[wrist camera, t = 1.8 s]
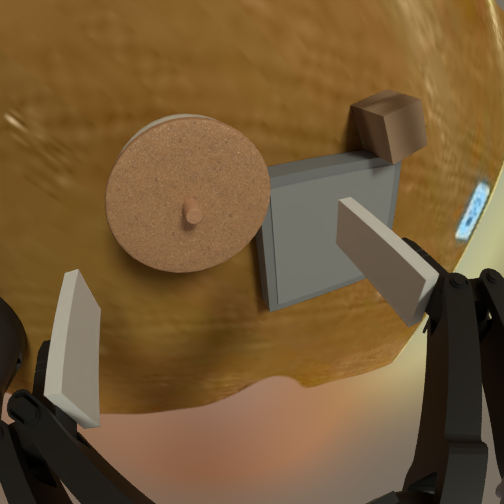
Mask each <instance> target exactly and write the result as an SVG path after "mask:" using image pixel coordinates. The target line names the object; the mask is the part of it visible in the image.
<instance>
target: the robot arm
mask: <svg viewBox="0 0 504 504" xmlns="http://www.w3.org/2000/svg"><path fill="white" fill-rule="evenodd" d="M336 244H337V245H338V246H339V247H340V249H341V250H342V251H343V252H344V253H345V254H346V255H347V256H348V257H349V258H350V260H351V261H352V262H353V263H354V264H355V265H356V266H357V267H358V269H359V270H360V271H361V272H362V273H363V274H364V275H365V276H366V278H367V279H368V280H369V281H370V282H371V283H372V285H373V286H374V287H375V288H376V289H377V290H378V291H379V293H380V294H381V295H382V296H383V297H384V298H385V300H386V301H387V302H388V303H389V304H390V306H391V307H392V308H393V309H394V310H395V312H396V313H397V314H398V315H399V316H400V318H401V319H402V320H403V321H404V322H405V324H406V325H407V326H408V327H410V326H412V325H414V324H416V323H418V322H420V321H421V320H422V318H423V315H424V313H425V312H426V313H427V314H428V315H429V318H428V320H427V323H426V325H425V327H424V329H423V333H425V332H426V330H427V356H426V372H425V385H424V395H423V404H422V412H421V420H420V427H419V433H418V439H417V445H416V450H415V456H414V460H413V463H412V465H411V467H410V469H409V471H408V473H407V475H406V478H405V482H404V486H403V489H402V491H400V492H394V491H392V492H390V493H388V494H386V495H383V496H381V497H379V498H377V499H374V500H372V501H370V502H368V503H366V504H481V502H482V497H483V491H484V485H485V478H486V470H487V461H488V447H487V445H486V444H485V443H484V442H482V440H481V422H482V385H483V389H484V393H485V397H486V402H487V407H488V411H489V416H490V422H491V427H492V434H493V440H494V447H495V454H496V459H497V465H498V469H499V472H500V476H501V478H502V481H501V483H500V484H499V485H498V486H497V488H496V495H497V497H499V498H501V501H500V504H504V278H503V277H502V276H501V275H500V273H498V272H497V271H496V270H493V269H489V268H487V269H484V270H483V271H482V272H481V274H480V277H479V278H475V279H467V278H466V277H465V276H463V275H462V274H459V273H448V272H447V271H446V270H445V269H444V268H443V267H442V266H441V265H440V264H439V263H437V262H436V261H435V260H434V259H433V258H432V257H431V256H430V255H428V253H426V252H425V251H424V250H422V248H421V247H420V246H419V245H417V244H416V243H415V242H413V241H411V240H409V239H407V238H402V239H401V238H400V237H398V236H397V235H396V234H395V233H394V232H393V231H392V230H390V229H389V228H388V227H387V226H386V225H385V224H383V223H382V222H381V221H380V220H379V219H377V218H376V217H375V216H374V215H373V214H371V213H370V212H369V211H368V210H367V209H365V208H364V207H363V206H362V205H360V204H359V203H358V202H357V201H355V200H354V199H353V198H352V197H348V198H344V199H339V200H338V219H337V235H336ZM489 313H490V314H491V316H492V318H491V319H490V317H489ZM100 315H101V309H100V307H99V306H98V304H97V302H96V300H95V299H94V297H93V295H92V293H91V291H90V290H89V288H88V286H87V284H86V282H85V280H84V278H83V277H82V275H81V273H80V271H79V269H77V270H73V271H70V272H67V273H65V276H64V280H63V284H62V288H61V292H60V296H59V301H58V305H57V310H56V315H55V320H54V325H53V331H52V336H51V340H48V341H44V342H43V344H42V345H41V347H40V349H39V351H38V356H37V364H36V369H35V371H36V372H35V376H34V384H33V393H32V394H31V393H30V392H28V391H27V390H24V389H21V390H17V391H16V392H15V393H13V394H12V396H11V397H10V399H9V401H8V404H7V412H8V415H9V417H11V418H12V419H13V420H15V422H13V423H11V424H9V425H8V424H6V423H5V422H4V421H2V420H1V414H2V404H3V397H4V394H5V392H6V390H7V389H8V387H9V385H10V383H11V382H12V380H13V378H14V376H15V375H16V373H17V371H18V370H19V368H20V366H21V364H22V362H23V358H24V353H25V348H26V336H25V332H24V329H23V327H22V324H21V322H20V321H19V319H18V317H17V316H16V314H15V313H14V312H13V311H12V309H11V308H10V307H9V306H8V305H7V304H6V303H5V302H4V301H3V300H2V299H1V298H0V482H1V485H2V488H3V490H4V493H5V496H6V498H7V501H8V503H9V504H73V503H72V501H71V500H70V498H69V496H68V494H67V493H66V491H65V489H64V487H63V485H62V483H61V481H62V482H63V483H64V484H65V486H66V487H67V488H68V489H69V490H70V492H71V493H72V494H73V495H74V496H75V497H76V499H77V500H78V501H79V502H80V503H81V504H155V503H154V502H153V501H152V500H150V499H149V498H148V497H146V496H145V495H144V494H143V493H142V492H140V491H139V490H138V489H137V488H136V487H134V486H133V485H132V484H131V483H130V482H129V481H128V480H126V479H125V478H124V477H123V476H122V475H121V474H120V473H119V472H118V471H117V470H115V469H114V468H113V467H112V466H111V465H110V464H109V463H108V462H107V461H106V460H105V459H104V458H103V457H102V456H101V455H100V454H99V453H98V452H97V451H96V450H95V449H94V448H93V447H92V446H91V445H90V444H89V443H88V441H87V440H86V439H85V438H84V437H83V436H82V435H81V434H80V433H79V432H77V423H78V424H79V425H80V426H82V427H83V428H84V429H85V428H93V427H100V412H99V333H100ZM59 478H60V479H59ZM60 480H61V481H60Z"/></svg>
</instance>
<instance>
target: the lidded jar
mask: <svg viewBox="0 0 504 504" xmlns="http://www.w3.org/2000/svg"><path fill="white" fill-rule="evenodd" d="M270 192H271V187H270V177H269V173H268V169H267V166H266V164H265V161H264V159H263V157H262V155H261V154H260V152H259V151H258V149H257V148H256V146H255V145H254V144H253V143H252V142H251V141H250V140H249V139H248V138H247V137H246V136H245V135H243V134H242V133H240V132H239V131H238V130H236V129H235V128H233V127H231V126H229V125H227V124H225V123H223V122H220V121H218V120H216V119H213V118H210V117H206V116H203V115H196V114H175V115H171V116H167V117H163V118H160V119H158V120H156V121H153V122H151V123H150V124H148V125H146V126H145V127H143V128H142V129H141V130H140V131H138V132H137V133H136V134H135V135H134V136H133V137H132V138H131V139H130V140H129V141H128V143H127V144H126V145H125V146H124V148H123V149H122V151H121V153H120V154H119V156H118V158H117V160H116V162H115V164H114V165H113V167H112V170H111V173H110V176H109V178H108V182H107V187H106V193H105V211H106V217H107V221H108V224H109V227H110V229H111V232H112V234H113V235H114V237H115V239H116V240H117V242H118V243H119V244H120V246H121V247H122V248H123V249H124V250H125V251H126V252H127V253H128V254H129V255H131V256H132V257H133V258H134V259H136V260H138V261H139V262H141V263H143V264H145V265H147V266H149V267H152V268H154V269H158V270H162V271H168V272H175V273H182V272H194V271H201V270H204V269H207V268H211V267H213V266H216V265H218V264H221V263H223V262H224V261H226V260H228V259H230V258H231V257H233V256H234V255H235V254H237V253H238V252H240V251H241V250H242V249H243V248H244V247H245V246H246V245H247V244H248V243H249V242H250V241H251V239H252V238H253V237H254V236H255V235H256V233H257V231H258V230H259V228H260V226H261V225H262V223H263V221H264V218H265V216H266V213H267V210H268V206H269V202H270Z"/></svg>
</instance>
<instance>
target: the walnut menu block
mask: <svg viewBox="0 0 504 504" xmlns="http://www.w3.org/2000/svg"><path fill="white" fill-rule="evenodd" d="M351 108H352V112H353V115H354V119H355V122H356V126H357V129H358V133H359V137H360V141H361V144H362V148H363V149H365V150H367V151H369V152H371V153H373V154H374V155H376V156H378V157H380V158H382V159H384V160H385V161H387V162H389V163H391V164H395V163H397V162H399V161H400V160H402V159H404V158H406V157H407V156H409V155H411V154H413V153H414V152H416V151H418V150H419V149H421V148H423V147H425V146H426V145H427V137H426V130H425V122H424V116H423V110H422V104H421V99H418V98H415V97H412V96H408V95H405V94H401V93H398V92H394V91H390V90H385V91H382V92H380V93H377V94H375V95H373V96H370V97H368V98H366V99H364V100H361V101H359V102H357V103H355V104H352V105H351Z"/></svg>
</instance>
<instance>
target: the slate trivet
mask: <svg viewBox="0 0 504 504" xmlns="http://www.w3.org/2000/svg"><path fill="white" fill-rule="evenodd" d="M400 168H401V160H400V161H399V162H397V163H395V164H391V163H389V162H387V161H385V160H384V159H382V158H380V157H378V156H376V155H374V154H373V153H371V152H369V151H367V150H359V151H353V152H346V153H340V154H334V155H328V156H322V157H316V158H311V159H305V160H300V161H295V162H289V163H284V164H279V165H274V166H269V167H267V169H268V173H269V177H270V187H271V192H270V202H269V206H268V210H267V213H266V216H265V218H264V221H263V223H262V225H261V226H260V228H259V230H258V231H257V233H256V235H255V236H256V245H257V254H258V263H259V271H260V280H261V289H262V298H263V300H264V302H265V304H266V306H267V308H268V309H269V311H270V312H272V311H276V310H279V309H282V308H284V307H287V306H290V305H293V304H296V303H299V302H302V301H305V300H308V299H311V298H313V297H316V296H319V295H322V294H325V293H327V292H330V291H333V290H336V289H338V288H341V287H344V286H347V285H349V284H352V283H355V282H357V281H360V280H362V279H365V278H366V276H365V275H364V274H363V273H362V272H361V271H360V270H359V269H358V267H357V266H356V265H355V264H354V263H353V262H352V261H351V260H350V258H349V257H348V256H347V255H346V254H345V253H344V252H343V251H342V250H341V249H340V247H339V246H338V245H337V244H336V235H337V219H338V200H339V199H344V198H348V197H352V198H353V199H354V200H355V201H357V202H358V203H359V204H360V205H362V206H363V207H364V208H365V209H367V210H368V211H369V212H370V213H371V214H373V215H374V216H375V217H376V218H377V219H379V220H380V221H381V222H382V223H383V224H385V225H386V226H387V227H388V228H389V229H390V230H392V225H393V219H394V213H395V207H396V200H397V193H398V185H399V177H400Z"/></svg>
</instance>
